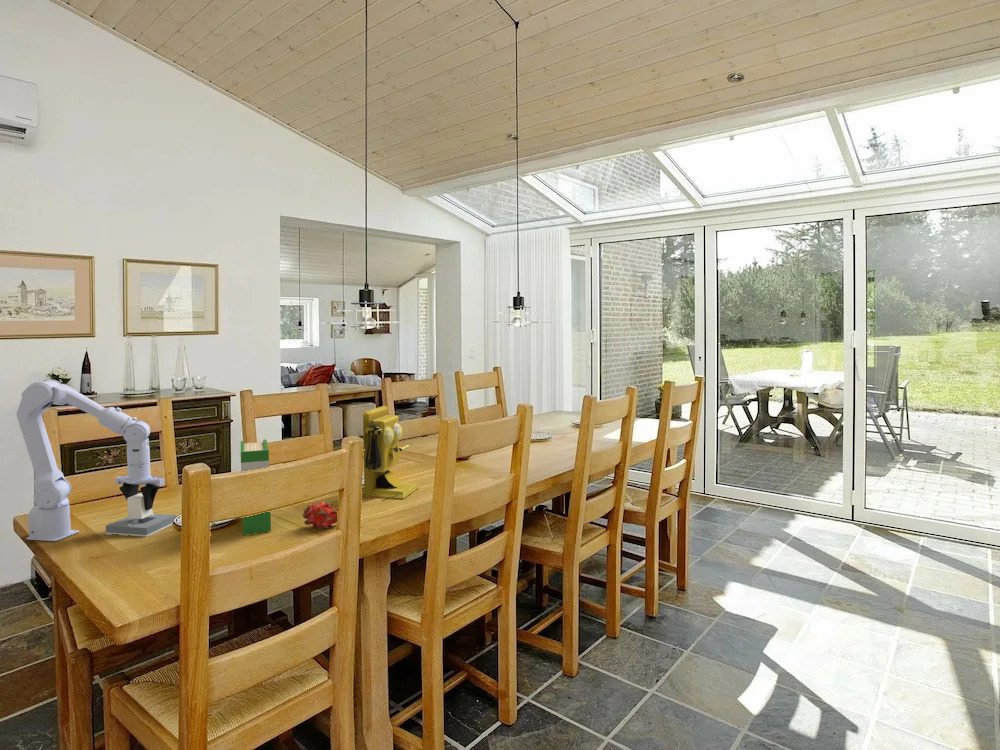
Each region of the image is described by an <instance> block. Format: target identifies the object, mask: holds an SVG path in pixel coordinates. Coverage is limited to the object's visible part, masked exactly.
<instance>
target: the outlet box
mask: <svg viewBox="0 0 1000 750" xmlns="http://www.w3.org/2000/svg"><path fill="white" fill-rule="evenodd" d="M174 519H177V517H176V514H167V513H166V514H165V513H164V514H163V513H153V514H152V515H150V516H147V517H145V518H143V519H134V518H128V516H125V517H123V518H120V519H117V520H116V521H114V522H111V523H108V524H106V525H105V535H112V534H119V535H118V536H128V535H131V536H132V537H145V538H146V537H149V536H151V535H154V534H156V533H158V532H160V531H162V530H164V529H166V528H168V527H171V526H173V525H174V524H173V522H174ZM172 524H173V525H172Z"/></svg>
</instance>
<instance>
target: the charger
mask: <svg viewBox="0 0 1000 750" xmlns="http://www.w3.org/2000/svg"><path fill="white" fill-rule="evenodd" d="M126 501H127V504H126V505H127V517H128V518H134V519H143V518H145V517H147V516H150V515H152V514H154V512H153V511H154V510H153V507H152V509H149V510H145V507H144V498H143V494H142V493H138V494H136V495H134V496H131V497H128V498H127V500H126Z"/></svg>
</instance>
